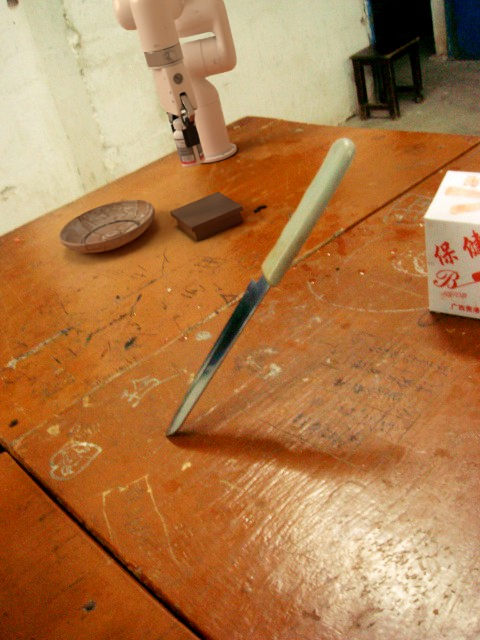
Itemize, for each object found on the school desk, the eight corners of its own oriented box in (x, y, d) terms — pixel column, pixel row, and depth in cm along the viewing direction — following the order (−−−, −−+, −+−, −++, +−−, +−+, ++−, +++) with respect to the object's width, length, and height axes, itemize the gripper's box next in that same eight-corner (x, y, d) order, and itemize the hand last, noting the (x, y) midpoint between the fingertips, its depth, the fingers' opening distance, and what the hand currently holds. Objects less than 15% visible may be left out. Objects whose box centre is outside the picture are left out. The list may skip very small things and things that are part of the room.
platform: (174, 226, 153) (169, 211, 150) (221, 206, 156) (218, 191, 154) (195, 243, 142) (191, 227, 140) (246, 221, 146) (242, 205, 144)
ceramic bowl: (175, 232, 150) (169, 213, 147) (83, 274, 142) (75, 255, 139) (138, 208, 168) (132, 190, 165) (54, 244, 160) (46, 226, 157)
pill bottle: (196, 156, 144) (184, 114, 139) (210, 159, 141) (198, 116, 135) (177, 166, 142) (164, 122, 137) (190, 169, 138) (178, 125, 133)
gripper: (197, 54, 123) (219, 144, 133) (165, 47, 137) (187, 130, 147) (162, 66, 121) (187, 157, 131) (133, 58, 135) (158, 141, 145)
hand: (187, 142), depth 139 cm, fingers closed on pill bottle, 5 cm apart
